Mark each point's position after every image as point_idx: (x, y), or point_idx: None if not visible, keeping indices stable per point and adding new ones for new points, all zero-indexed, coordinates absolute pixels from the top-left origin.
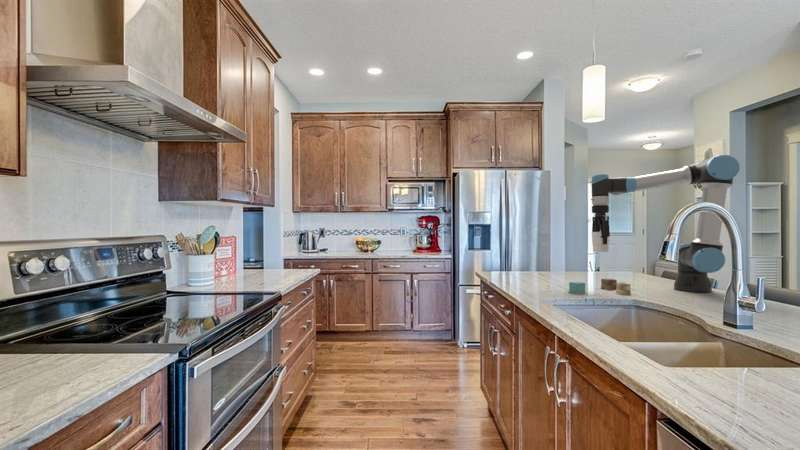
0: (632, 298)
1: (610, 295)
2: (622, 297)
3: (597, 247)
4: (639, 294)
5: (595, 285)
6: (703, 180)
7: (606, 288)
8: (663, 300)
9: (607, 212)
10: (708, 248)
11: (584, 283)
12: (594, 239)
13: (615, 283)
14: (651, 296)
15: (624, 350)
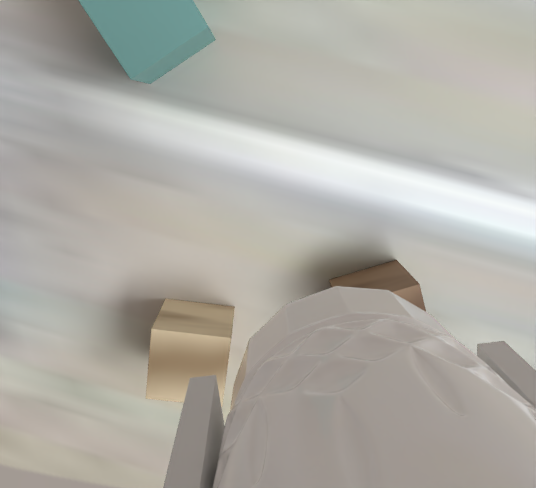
0: (16, 326)
1: (91, 232)
2: (34, 282)
3: (260, 362)
4: (174, 407)
5: (519, 253)
6: None
7: (340, 279)
8: (2, 456)
9: None
10: None
11: (127, 72)
12: (311, 426)
13: None
14: (119, 443)
15: None
